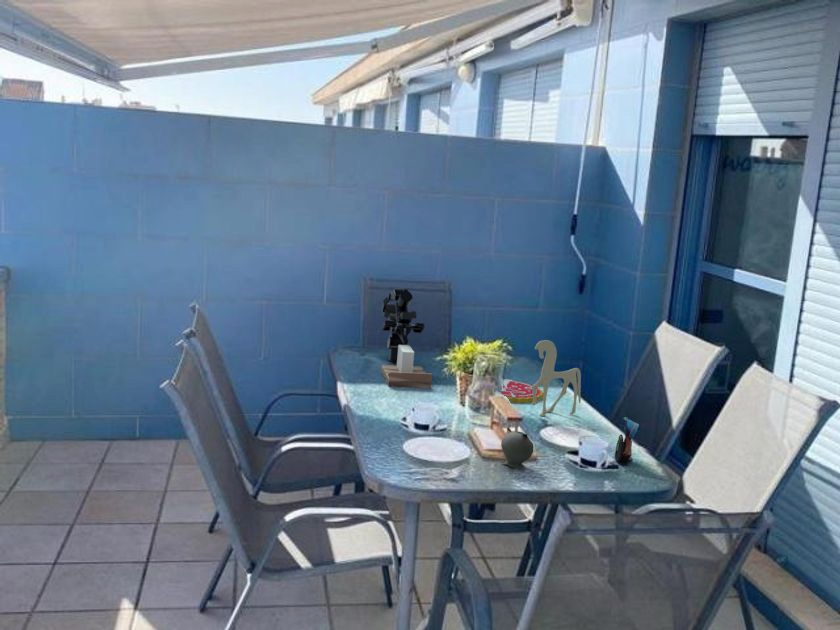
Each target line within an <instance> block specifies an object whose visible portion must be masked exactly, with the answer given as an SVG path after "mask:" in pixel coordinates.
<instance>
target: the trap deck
mask: <svg viewBox="0 0 840 630" xmlns="http://www.w3.org/2000/svg"><path fill="white" fill-rule="evenodd" d="M380 370H381V372H382V375H383V378H384V377H385V378H384V380H385V382H386V384H387V386H388V387H393V386H396V388H397V387H398V388H422V389H423V388H425V389H427V388H428V389H431V388H432V382H433V381H432V380H433V373H429V372H426V371H425V370H424V368H423V367H422V366H417V365H416V366H415V365H413V373H408V372H399V370H398V368H397V365H392V364H391V365H389V364H381V369H380Z"/></svg>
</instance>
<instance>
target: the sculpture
mask: <svg viewBox="0 0 840 630" xmlns="http://www.w3.org/2000/svg"><path fill="white" fill-rule="evenodd" d="M534 350H538V355H539V358H540V359H541V360H543V359H544V360H543V363H542V367H541V371H540V372H541V373H540V377H539V379H538V380H537V382H535V383H534V384H533V385H532V391H533V402H531V403H532V406H535V405H537V404H538V401H537V397H536V388H540V387H541V386H542V388H543V390H542V391H543V397H542V407H543V408H542V412H541V413H540V414H539V416H540V417H545V416H546V414H547V413H552V412H553V411H554V410H555V407H556V405H557V404H558V402H559V401H560V400H561V399H562V397H564V396H565V395H566V394H567V390H568V387H569V385H570V383H571V384H572V387H573V404H572V409H571V410H570V412H569V414H570V415H574V414H575V413H576V408H577V407H576V406H577V398H578V404H581V402H582V401H581V400H582V399H581V387H582V385H581V383H582V381H581V380H582V373H581V369H580V368H578V367H574V368H571V369H569V370H568V369H567V370H564V371H555V366H556V361H557V357H558V353H557V351H558V350H557V347H556V345H555V343H554V342H553V341H551V340H548V339H544V340H543V339H542V340H540V341H538V342H537V343H536V345H535V347H534ZM544 352H545V356H544ZM554 379H555V380H556V379H562V380H563V385H562V389H561V391H560V393H559V394H558V395H559V396H558V397H557V398H556V400H555V401H554V402H553V403H552V405H551V406H550V407H549V408H546V404H547V403H546V400H547V396H548V395H547V394H548V389H549V385H550V382H551V381H553V380H554Z"/></svg>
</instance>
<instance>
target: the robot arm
mask: <svg viewBox="0 0 840 630" xmlns="http://www.w3.org/2000/svg"><path fill="white" fill-rule="evenodd" d="M412 300H413V294H412V293H411V292H410V290H409V289H408V288H398V287H395V288H393V290H392V291H389V292H388V293H387V295H386V297H385V298H384V299H383V300H382V304H381V313H382V315H383V317H384V318H386V319H385V320H384V321H383V323H382V324H381V325H382V326H381V330H382V331H385V332H389V331H390V333H389V336H388V339H387V341H386V348H387V349H388V350H389V351H390V352H389V358H386V360H387V361H388V362H390V361H391V362H390V363H393V364H394V363H396V364H397V356H398V345H409V339H408V336H409V334H411V332H413V333H415V334H422V332H423V331H424V329H426V327H425V325H426V324H425V323H424V322H419V321H416V322H414V324H411V323H412V321H413V320H415V319H416V318H417V311H415V310H414V311H409V307H410V306H411V305H410V304H411V302H412ZM390 301H392V302H396V303H390Z"/></svg>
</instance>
